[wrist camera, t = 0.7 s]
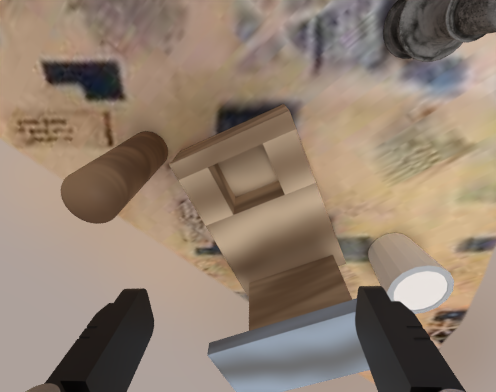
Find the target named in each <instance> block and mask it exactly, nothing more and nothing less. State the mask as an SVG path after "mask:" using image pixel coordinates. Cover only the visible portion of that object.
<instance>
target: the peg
mask: <svg viewBox="0 0 496 392" xmlns="http://www.w3.org/2000/svg"><path fill="white" fill-rule="evenodd" d="M167 156H168V149H167V145H166V143H165V142H164V140H163V139H162V138H161V137H160V136H159V135H157V134H155V133H153V132H141V133H138V134H137V135H135V136H133V137H132V138H130V139H128V140H127V141H125V142H123V143H122V144H120V145H118V146H117V147H115V148H113V149H112V150H110V151H108V152H107V153H105V154H103V155H102V156H100V157H98V158H97V159H95V160H93V161H92V162H90V163H88V164H87V165H85V166H84V167H82V168H80V169H79V170H77V171H75V172H74V173H72V174H70V175H69V176H67V177H66V178H65V180H64V181H63V183H62V186H61V196H62V200H63V202H64V204H65V206H66V207H67V208H68V210H69V211H70V212H71V213H72V214H74V215H75V216H76V217H78V218H80V219H82V220H84V221H86V222H90V223H106V222H108V221H110V220H112V219H113V218H115V217H116V216H117V214H118V213H119V212H120V211H121V210H122V209H123V208H124V207H125V205H126V204H127V203H128V202H129V201H130V200H131V199H132V198H133V197H134V195H135V194H136V193H137V192H138V191H139V190H140V189H141V188H142V187H143V185H144V184H145V183H146V182H147V181H148V180H149V179H150V178H151V176H152V175H153V174H154V173H155V172H156V171H157V170H158V169H159V168H160V166H161V165H162V164H163V163H164V162H165V161H166V159H167Z"/></svg>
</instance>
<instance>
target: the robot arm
mask: <svg viewBox="0 0 496 392" xmlns="http://www.w3.org/2000/svg"><path fill="white" fill-rule="evenodd" d="M355 327H356V332H357V336H358V339H359V341H360V344H361V347H362V350H363V352H364V355H365V358H366V360H367V363H368V366H369V368H370V371H371V374H372V376H373V379H374V382H375V384H376V387H377V390H378V392H466V391H465V389H464V388H463V387H462V385H461V384H460V382H459V381H458V379H457V378H456V376H455V375H454V373H453V372H452V370H451V369H450V367H449V366H448V364H447V363H446V361H445V359H444V358H443V356H442V355H441V353H440V352H439V350H438V349H437V347H436V346H435V344H434V343H433V341H431V340H430V337H429V335H428V334H427V332H426V331H425V329H423V327H422V325H421V323H420V322H419V320H418V319H417V317H416V316H415V314H414V313H413V312H412V311H411V310H410V309H409V308H407V307H406V306H405V305H404V304H403V303H401V302H400V301H391V300H390V298H389V296H388V295H387V293H386V291H385V290H384V288H383V287H382V286H360V287H359V288H358V295H357V304H356V313H355ZM153 329H154V318H153V313H152V310H151V305H150V301H149V297H148V293H147V291H146V289H124V290H123V291H122V292H121V293H120V295H119V296H118V298H117V299H116V300H115V302H114V303H109V304H108V305H106V306H105V307H104V308H103V309H101V310H100V311H99V312H98V313H97V314H96V315H95V316H94V317H93V319H92V320H91V321H90V323H89V324H88V325H87V328H86V329H85V330H84V331H83V332H82V334H81V335H80V336H79V339H77V340H76V342H75V343H74V345H73V346H72V347H71V349H70V350H69V351H68V353H67V354H66V355H65V357H64V358H63V359H62V361H61V362H60V364H59V365H58V366H57V367H56V369H55V370H54V372H53V373H52V374H51V376H50V377H49V378H48V380H47V381H46V382H45V383H44V384H41V385H38V386H35V387H33V388H31V389H29V390H27V391H26V392H127V389H128V387H129V385H130V383H131V381H132V379H133V376H134V374H135V371H136V370H137V367H138V365H139V363H140V361H141V358H142V356H143V354H144V352H145V350H146V347H147V345H148V343H149V341H150V338H151V336H152V333H153Z"/></svg>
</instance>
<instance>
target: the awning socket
mask: <svg viewBox="0 0 496 392" xmlns="http://www.w3.org/2000/svg"><path fill="white" fill-rule="evenodd" d="M169 166H170V167H171V169H172V171H173V172H174V174H175V176H176V177H177V179H178V181H179V182H180V184H181V186H182V187H183V189H184V191H185V192H186V194H187V196H188V197H189V199H190V201H191V202H192V204H193V206H194V207H195V209H196V211H197V212H198V214H199V216H200V217H201V219H202V221H203V222H204V224H205V226H206V227H207V229H208V231H209V232H210V234H211V236H212V237H213V239H214V241H215V242H216V244H217V246H218V247H219V249H220V250H221V252H222V254H223V255H224V257H225V259H226V260H227V262H228V264H229V265H230V267H231V269H232V270H233V272H234V274H235V275H236V277H237V279H238V280H239V282H240V284H241V285H242V287H243V289H244V290H245V292H246V294H247V295H248V296H249V331H247V332H244V333H241V334H238V335H234V336H231V337H227V338H224V339H221V340H218V341H214V342H211V343H209V348H208V356H209V358H210V359H211V360H212V362H213V363H214V364H215V365H216V367H217V368H218V369H219V371H220V372H221V373H222V374H223V376H224V377H225V378H226V380H227V381H228V382H229V383H230V385H231V386H232V387H233V388H234V390H235V391H236V392H283V391H287V390H291V389H295V388H299V387H303V386H307V385H311V384H315V383H319V382H322V381H327V380H331V379H335V378H339V377H343V376H347V375H351V374H355V373H359V372H363V371H367V370H370V368H369V366H368V363H367V360H366V358H365V355H364V352H363V350H362V347H361V344H360V341H359V339H358V336H357V332H356V327H355V313H356V304H357V299H353V300H352V298H351V296H350V293H349V291H348V289H347V286H346V284H345V282H344V279H343V277H342V275H341V272H340V270H339V268H338V266H341V265H344V264H346V262H345V259H344V256H343V254H342V251H341V248H340V246H339V243H338V240H337V238H336V235H335V232H334V230H333V227H332V224H331V221H330V219H329V216H328V213H327V211H326V208H325V205H324V203H323V200H322V197H321V194H320V192H319V189H318V186H317V184H316V181H315V178H314V176H313V173H312V170H311V168H310V165H309V162H308V159H307V157H306V154H305V151H304V149H303V146H302V143H301V141H300V138H299V135H298V132H297V130H296V127H295V124H294V122H293V119H292V116H291V114H290V111H289V110H288V108H287V107H286V106H285V105H284V104H283V105H280V106H278V107H276V108H274V109H272V110H270V111H267V112H265V113H263V114H261V115H259V116H256V117H254V118H252V119H250V120H248V121H245V122H243V123H241V124H239V125H237V126H235V127H232V128H230V129H228V130H226V131H224V132H221V133H219V134H217V135H215V136H213V137H211V138H208V139H206V140H204V141H202V142H200V143H197V144H195V145H193V146H191V147H189V148H186V149H184V150H182V151H180V152H179V153H178V155H177V156H176V157H175V158H174V160H173V161H172V162H171V163H170V164H169Z"/></svg>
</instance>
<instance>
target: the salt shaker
mask: <svg viewBox="0 0 496 392" xmlns="http://www.w3.org/2000/svg"><path fill="white" fill-rule="evenodd" d="M494 32H496V0H398V1H397V2H396V3H395V4H394V5H393V7H392V8H391V10H390V11H389V13H388V15H387V17H386V20H385V24H384V29H383V35H384V41H385V45H386V47H387V48H388V50H389V51H390V52H391V53H392V54H393V55H395V56H396V57H399V58H402V59H411V58H413V59H416V60H419V61H422V62H432V61H436V60H439V59H442V58H444V57H446V56H448V55H450V54H451V53H453V52H454V51H455V50H456V49H457V48H459V47H460V46H461V44H462V43H463V42H471V41H475V40H477V39H479V38H481V37H483V36H484V35H485V34H487V33H494Z"/></svg>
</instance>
